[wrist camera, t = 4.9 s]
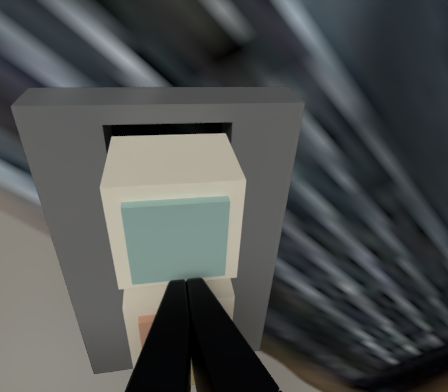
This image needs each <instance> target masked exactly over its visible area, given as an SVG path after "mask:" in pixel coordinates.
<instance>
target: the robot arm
mask: <svg viewBox="0 0 448 392" xmlns="http://www.w3.org/2000/svg"><path fill="white" fill-rule="evenodd" d="M191 363H192V370H193V376H194V381H195V385H196V390H197V392H278V391H279V387H278V385H277V384H276V383H275V381H274V379H273V378H272V377H271V375H270V374H269V372H268V371H267V369H266V368H265V367H264V365H263V364H262V362H261V361H260V359H259V358H258V357H257V355H256V354H255V352H254V351H253V349H252V348H251V347H250V345H249V344H248V342H247V341H246V339H245V338H244V336H243V335H242V334H241V332H240V331H239V329H238V328H237V326H236V325H235V324H234V322H233V321H232V319H231V318H230V316H229V315H228V314H227V312H226V311H225V309H224V308H223V306H222V305H221V304H220V302H219V301H218V299H217V298H216V296H215V295H214V294H213V292H212V291H211V289H210V288H209V286H208V285H207V284H206V282H205V281H204V279H203V278H201V277H198V278H189V279H187V280H186V281H185V280H184V279H177V280H171V281H169V283H168V285H167V288H166V290H165V293H164V295H163V297H162V300H161V302H160V305H159V307H158V310H157V312H156V315H155V317H154V320H153V322H152V325H151V327H150V330H149V332H148V335H147V337H146V340H145V342H144V345H143V347H142V350H141V352H140V355H139V357H138V360H137V362H136V365H135V367H134V370H133V372H132V375H131V377H130V380H129V382H128V385H127V387H126V390H125V392H190V391H191ZM279 392H282V391H279Z"/></svg>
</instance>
